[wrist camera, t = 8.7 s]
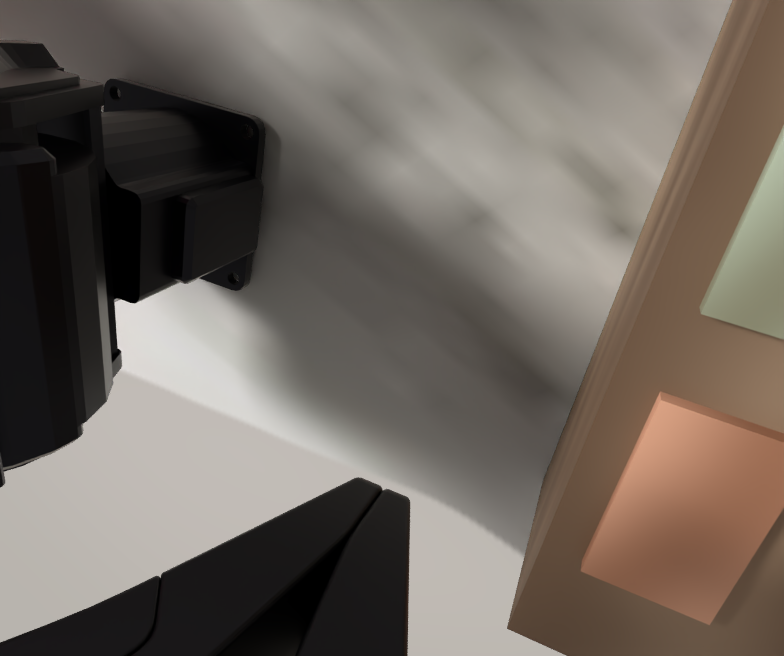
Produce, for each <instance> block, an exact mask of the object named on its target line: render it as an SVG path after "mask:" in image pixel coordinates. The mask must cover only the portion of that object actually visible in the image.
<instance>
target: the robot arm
mask: <svg viewBox="0 0 784 656" xmlns="http://www.w3.org/2000/svg"><path fill="white" fill-rule="evenodd" d="M118 88H119V90H120V92H121V98H119V96H118V92H117V91H118ZM103 105H104V112H103V113H101V106H103ZM248 125H250V126H251V128H252V129H253V136H252V138H251V137H249V135H248V134H247V126H248ZM265 135H266V134H265V127H264V124H263V122H262V121H261V120H260V119H259V118H257V117H255V116H252V115H249V114H245V113H242V112H238V111H235V110H231V109H228V108H224V107H221V106H217V105H214V104H210V103H207V102H203V101H200V100H196V99H193V98H189V97H185V96H182V95H178V94H175V93H171V92H168V91H164V90H161V89H157V88H154V87H150V86H147V85H143V84H140V83H136V82H133V81H129V80H126V79H110V80H108V81H107V82H106V84H105V87H104V86H103V84H102V83H98V82H93V81H87V80H82V79H80V77H79V75H76V74H72V73H68V72H64V68H61V67H59V66H58V64H57V63H56V62H55V60H54V59H53V58H52V56H51V55H50V53H49V52H48V51H47V49H46V48H45V47H44V45H43V44H40V43H35V42H29V41H17V40H0V487H2V486H3V485H4V484H5V477H4V471H7V470H11V469H14V468H17V467H20V466H23V465H26V464H28V463H30V462H32V461H34V460H37V459H39V458H41V457H44V456H47V455H49V454H52V453H54V452H55V451H57V450H59V449H61V448H63V447H65V446H67V445H68V444H70V443H72V442H74V441H75V440H76V439H78V438H79V437H80V436H81V435H82V434H83V423H85V422H86V421H87V420H88V419H89V418H90V417H91V416H92V415H93V414H94V413H95V412H96V411H97V410H98V409H99V408H100V407H101V406H102V405H103V404H104V403H105V402H106V401H107V399H108V396H109V393H110V390H111V388H112V385H113V377H114V376H115V375H116V374H117V372H118V371H119V370H120V369H121V367H122V358H121V351H120V350H119V349H117V335H116V320H115V306H114V302H116V301H118V300H120V299H122V300H125V301H127V302H130V303H137V302H139V301H141V300H143V299H145V298H148V297H150V296H152V295H154V294H156V293H158V292H160V291H162V290H165V289H167V288H169V287H171V286H173V285H175V284H177V283H179V282H181V283H184V284H188V283H190V282H192V281H194V280H196V279H198V278H200V279H203V280H205V281H208V282H211V283H214V284H216V285H219V286H222V287H225V288H228V289H230V290H235V291H237V290H240V289H242V288H244V287H246V286H247V285H248V284H249V281H250V277H251V267H252V258H253V251H254V250H256V248H257V241H258V232H259V223H260V214H261V204H262V195H263V184H262V182H261V173H262V163H263V154H264V144H265ZM233 272H234V273H236V274H237V275H238V277H239V281H237V280H236V279H235V278H234V275H233ZM409 539H410V500H409V498H408V497H406V496H403V495H401V494H399V493H396V492H394V491H392V490H389V489H385V490H382V488H381V486H379V485H377V484H374V483H372V482H370V481H368V480H365V479H363V478H354V479H352V480H350V481H348V482H347V483H344V484H342V485H340V486H338V487H336V488H334V489H332V490H330V491H328V492H326V493H324V494H322V495H320V496H318V497H316V498H314V499H312V500H310V501H308V502H306V503H304V504H302V505H300V506H297V507H296V508H294V509H291V510H289V511H287V512H285V513H283V514H281V515H279V516H277V517H275V518H273V519H271V520H269V521H267V522H265V523H263V524H261V525H259V526H257V527H255V528H253V529H251V530H249V531H247V532H245V533H243V534H241V535H239V536H237V537H235V538H233V539H230V540H228V541H226V542H224V543H222V544H221V545H218V546H216V547H214V548H212V549H210V550H208V551H206V552H204V553H202V554H200V555H198V556H196V557H194V558H192V559H190V560H188V561H186V562H184V563H182V564H180V565H178V566H176V567H174V568H172V569H170V570H168V571H166V572H163V573H162V575H161V579H160V577H159V576H155V577H153V578H151V579H149V580H147V581H145V582H143V583H141V584H139V585H137V586H135V587H133V588H130V589H128V590H126V591H124V592H122V593H120V594H118V595H115V596H113V597H111V598H109V599H107V600H104V601H102V602H100V603H98V604H96V605H94V606H91V607H89V608H87V609H84V610H82V611H79V612H77V613H74V614H72V615H69V616H67V617H65V618H62V619H60V620H57V621H55V622H52V623H50V624H47V625H45V626H42V627H40V628H37V629H34V630H32V631H29V632H27V633H24V634H22V635H19V636H16V637H14V638H11V639H8V640H6V641H3V642H1V643H0V656H407V649H408V648H407V647H408V645H407V644H408V643H407V642H408V594H409V592H408V591H409Z"/></svg>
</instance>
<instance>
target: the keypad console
mask: <svg viewBox="0 0 784 656" xmlns="http://www.w3.org/2000/svg"><path fill="white" fill-rule="evenodd" d="M507 629H509V630H511V631H514V632H516V633H518V634H520V635H523V636H525V637H527V638H529V639H531V640H533V641H536V642H538V643H540V644H542V645H545V646H547V647H549V648H551V649H553V650H556V651H558V652H560V653H562V654H565V655H567V656H784V0H733V1H732V3H731V6H730V8H729V11H728V13H727V16H726V19H725V21H724V24H723V26H722V29H721V31H720V34H719V36H718V39H717V41H716V44H715V46H714V49H713V51H712V54H711V57H710V59H709V62H708V64H707V67H706V69H705V72H704V74H703V77H702V79H701V82H700V84H699V87H698V90H697V92H696V95H695V97H694V100H693V102H692V105H691V107H690V110H689V112H688V115H687V117H686V120H685V122H684V125H683V128H682V130H681V133H680V135H679V138H678V140H677V143H676V145H675V148H674V150H673V153H672V155H671V158H670V161H669V163H668V166H667V168H666V171H665V173H664V176H663V178H662V181H661V183H660V186H659V188H658V191H657V193H656V196H655V199H654V201H653V204H652V206H651V209H650V211H649V214H648V216H647V219H646V221H645V224H644V226H643V229H642V232H641V234H640V237H639V239H638V242H637V244H636V247H635V249H634V252H633V254H632V257H631V259H630V262H629V264H628V267H627V270H626V272H625V275H624V277H623V280H622V282H621V285H620V287H619V290H618V292H617V295H616V297H615V300H614V303H613V305H612V308H611V310H610V313H609V315H608V318H607V320H606V323H605V325H604V328H603V330H602V333H601V336H600V338H599V341H598V343H597V346H596V348H595V351H594V353H593V356H592V358H591V361H590V363H589V366H588V368H587V371H586V374H585V376H584V379H583V381H582V384H581V386H580V389H579V391H578V394H577V396H576V399H575V401H574V404H573V407H572V409H571V412H570V414H569V417H568V419H567V422H566V424H565V427H564V429H563V432H562V434H561V437H560V439H559V442H558V445H557V447H556V450H555V452H554V455H553V457H552V460H551V462H550V465H549V467H548V470H547V472H546V475H545V478H544V480H543V483H542V488H541V492H540V496H539V500H538V504H537V508H536V512H535V516H534V520H533V524H532V528H531V533H530V537H529V541H528V545H527V549H526V553H525V557H524V561H523V565H522V570H521V574H520V577H519V582H518V586H517V590H516V594H515V598H514V602H513V606H512V611H511V614H510V619H509V622H508V627H507Z"/></svg>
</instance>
